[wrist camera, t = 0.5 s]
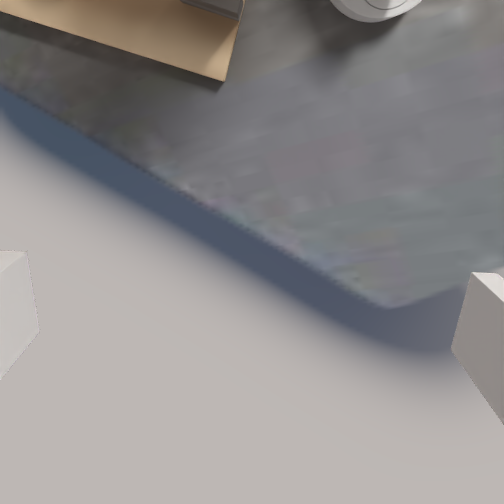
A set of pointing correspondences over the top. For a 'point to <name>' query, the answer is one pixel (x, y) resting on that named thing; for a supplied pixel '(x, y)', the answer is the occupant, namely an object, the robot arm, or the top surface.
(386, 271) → the top surface
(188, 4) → the door plate
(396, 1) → the wall hook
